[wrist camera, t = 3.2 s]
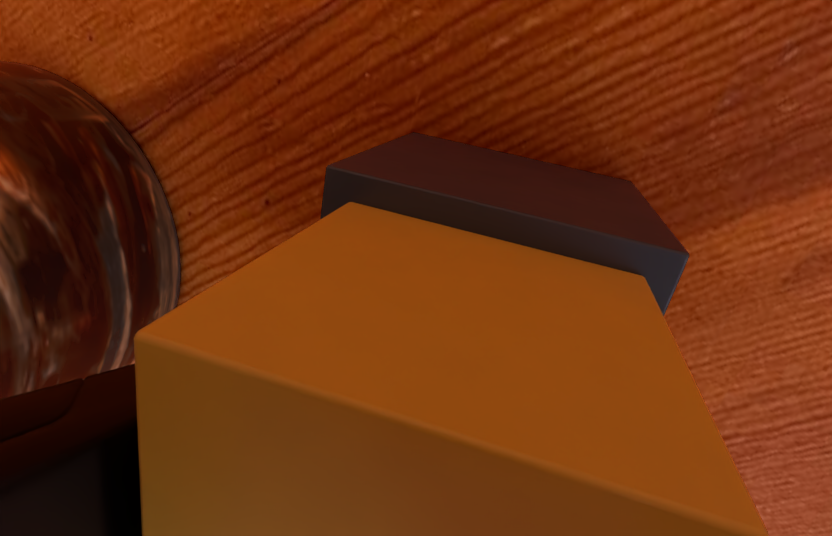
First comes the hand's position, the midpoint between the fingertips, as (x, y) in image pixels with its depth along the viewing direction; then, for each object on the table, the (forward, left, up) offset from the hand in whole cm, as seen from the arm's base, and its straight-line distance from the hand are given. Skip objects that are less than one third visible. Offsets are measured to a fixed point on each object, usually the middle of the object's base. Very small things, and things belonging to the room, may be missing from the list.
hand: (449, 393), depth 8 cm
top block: (0, 0, -1) cm, 1 cm away
